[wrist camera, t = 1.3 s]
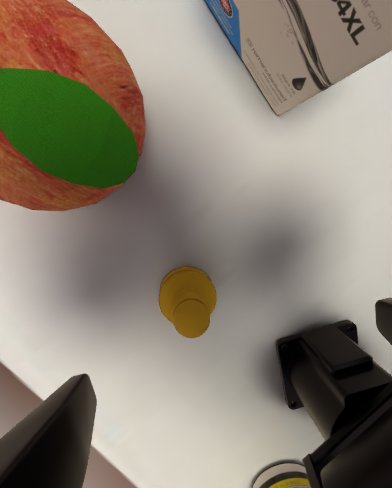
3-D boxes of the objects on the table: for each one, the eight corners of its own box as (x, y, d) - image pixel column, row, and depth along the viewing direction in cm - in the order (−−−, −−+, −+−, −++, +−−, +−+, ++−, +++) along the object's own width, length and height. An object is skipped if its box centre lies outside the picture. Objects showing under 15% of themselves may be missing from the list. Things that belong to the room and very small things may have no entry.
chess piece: (218, 270, 19) (235, 299, 14) (207, 320, 20) (220, 363, 15) (164, 262, 19) (163, 289, 14) (155, 313, 19) (151, 356, 14)
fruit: (83, 235, 18) (-20, 296, 8) (-38, 113, 15) (-391, -12, 6) (181, 148, 17) (201, 101, 7) (71, 9, 15) (-110, -323, 5)
